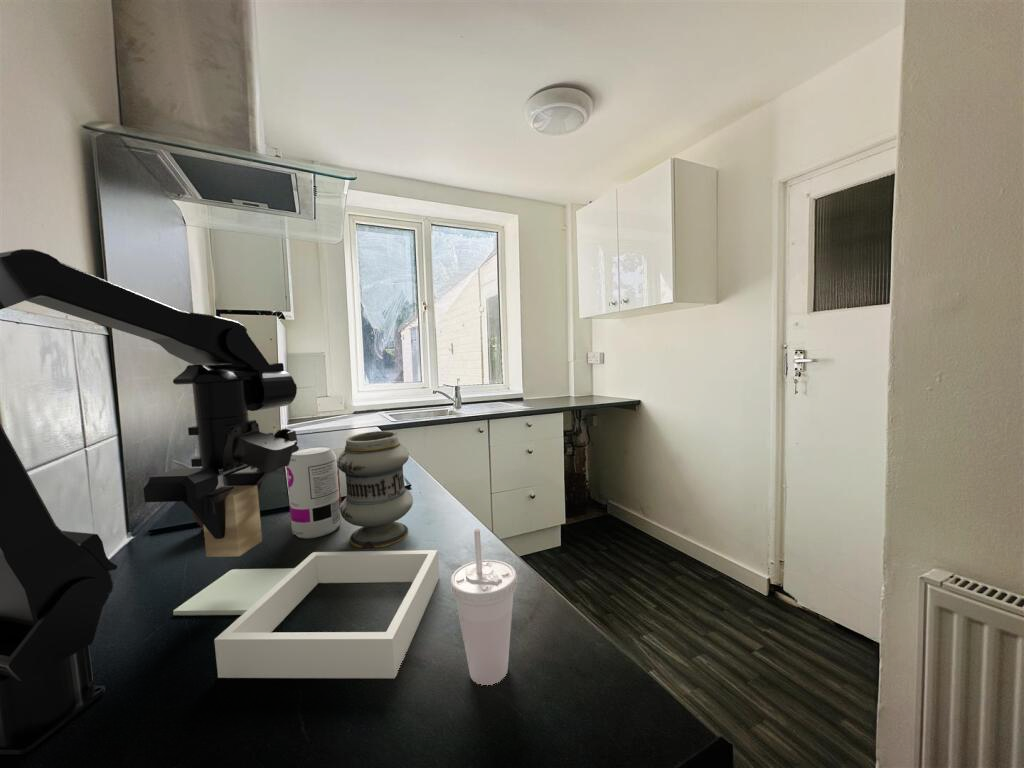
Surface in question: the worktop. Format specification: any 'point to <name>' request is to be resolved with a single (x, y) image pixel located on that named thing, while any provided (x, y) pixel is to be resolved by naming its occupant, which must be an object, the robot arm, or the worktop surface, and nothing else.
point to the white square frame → (329, 654)
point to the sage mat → (233, 592)
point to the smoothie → (485, 614)
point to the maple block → (237, 524)
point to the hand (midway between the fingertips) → (233, 530)
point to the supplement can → (313, 492)
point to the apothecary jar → (375, 488)
